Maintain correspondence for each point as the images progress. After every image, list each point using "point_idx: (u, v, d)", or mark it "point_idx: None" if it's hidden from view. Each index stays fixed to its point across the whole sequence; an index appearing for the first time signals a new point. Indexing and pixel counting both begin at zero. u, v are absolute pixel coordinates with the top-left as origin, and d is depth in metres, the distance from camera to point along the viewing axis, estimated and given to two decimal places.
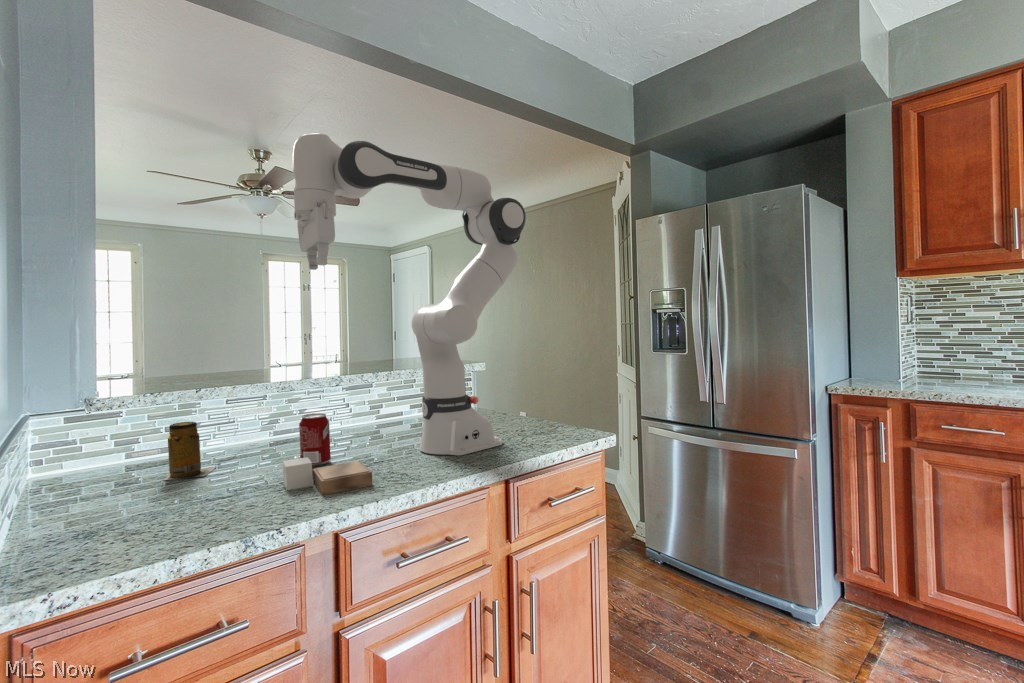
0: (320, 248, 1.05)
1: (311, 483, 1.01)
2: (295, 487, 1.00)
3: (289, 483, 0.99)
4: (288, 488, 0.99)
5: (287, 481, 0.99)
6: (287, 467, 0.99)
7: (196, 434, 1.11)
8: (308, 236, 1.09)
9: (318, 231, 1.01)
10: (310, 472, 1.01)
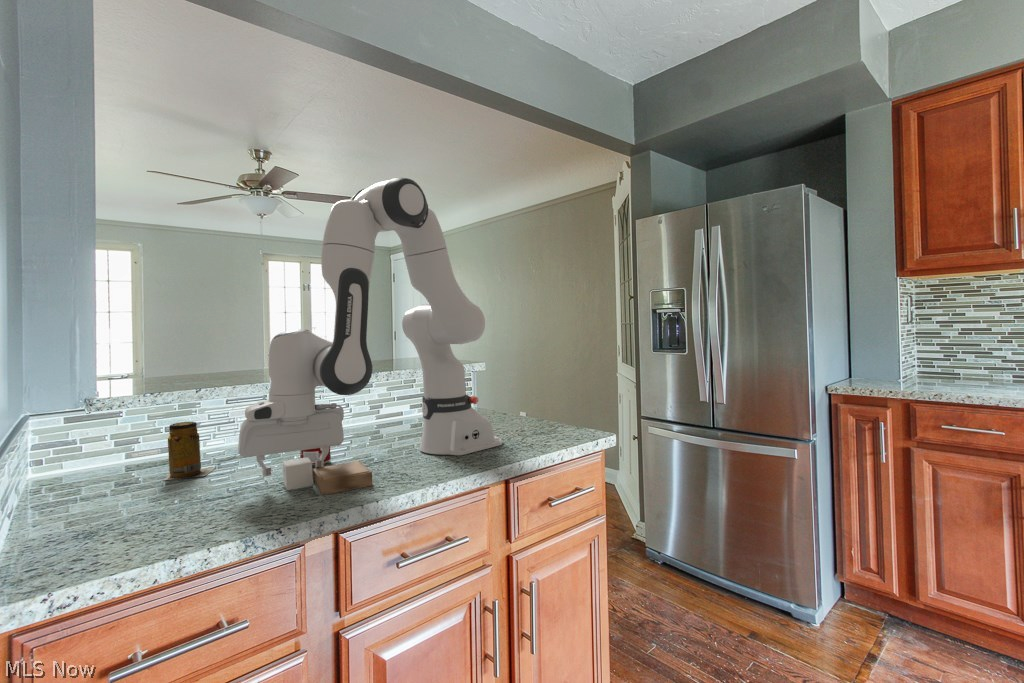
0: None
1: (311, 483, 1.01)
2: (295, 487, 1.00)
3: (289, 483, 0.99)
4: (288, 488, 0.99)
5: (287, 481, 0.99)
6: (287, 467, 0.99)
7: (196, 434, 1.11)
8: (295, 440, 1.00)
9: (342, 436, 1.05)
10: (310, 472, 1.01)
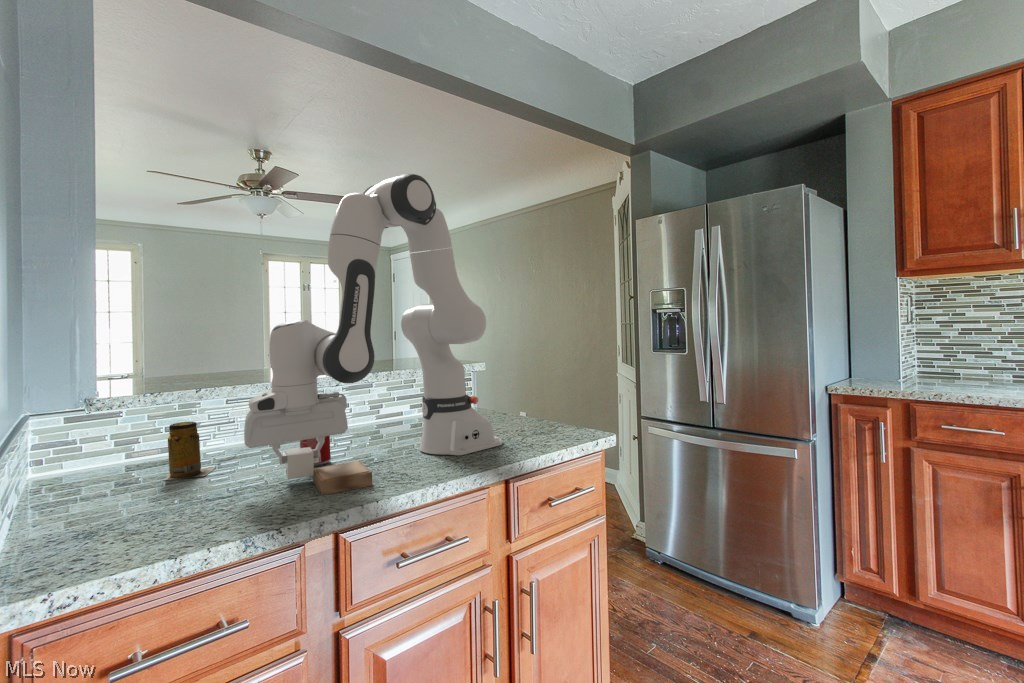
0: None
1: (312, 473, 1.02)
2: (296, 476, 1.01)
3: (290, 472, 1.00)
4: (289, 477, 1.00)
5: (288, 470, 1.00)
6: (289, 456, 1.00)
7: (196, 434, 1.11)
8: (300, 430, 1.01)
9: (346, 425, 1.06)
10: (311, 462, 1.02)
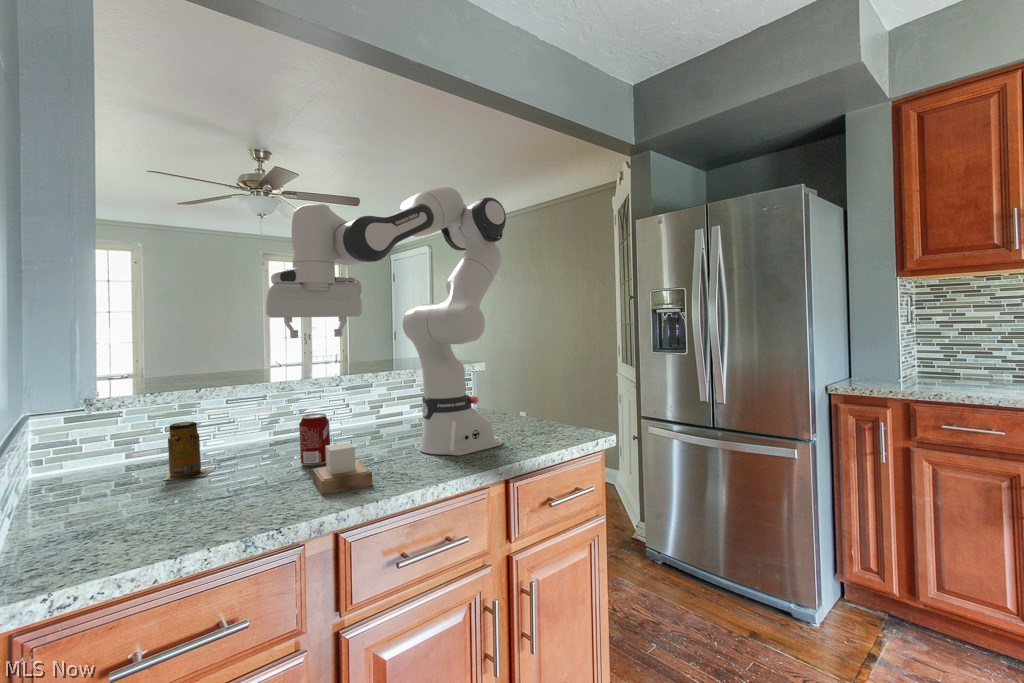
0: (346, 321, 1.12)
1: (354, 467, 1.01)
2: (338, 471, 1.00)
3: (333, 467, 0.99)
4: (332, 472, 0.99)
5: (331, 465, 0.99)
6: (331, 451, 0.99)
7: (196, 434, 1.11)
8: (318, 306, 1.08)
9: (361, 308, 1.13)
10: (353, 456, 1.01)
